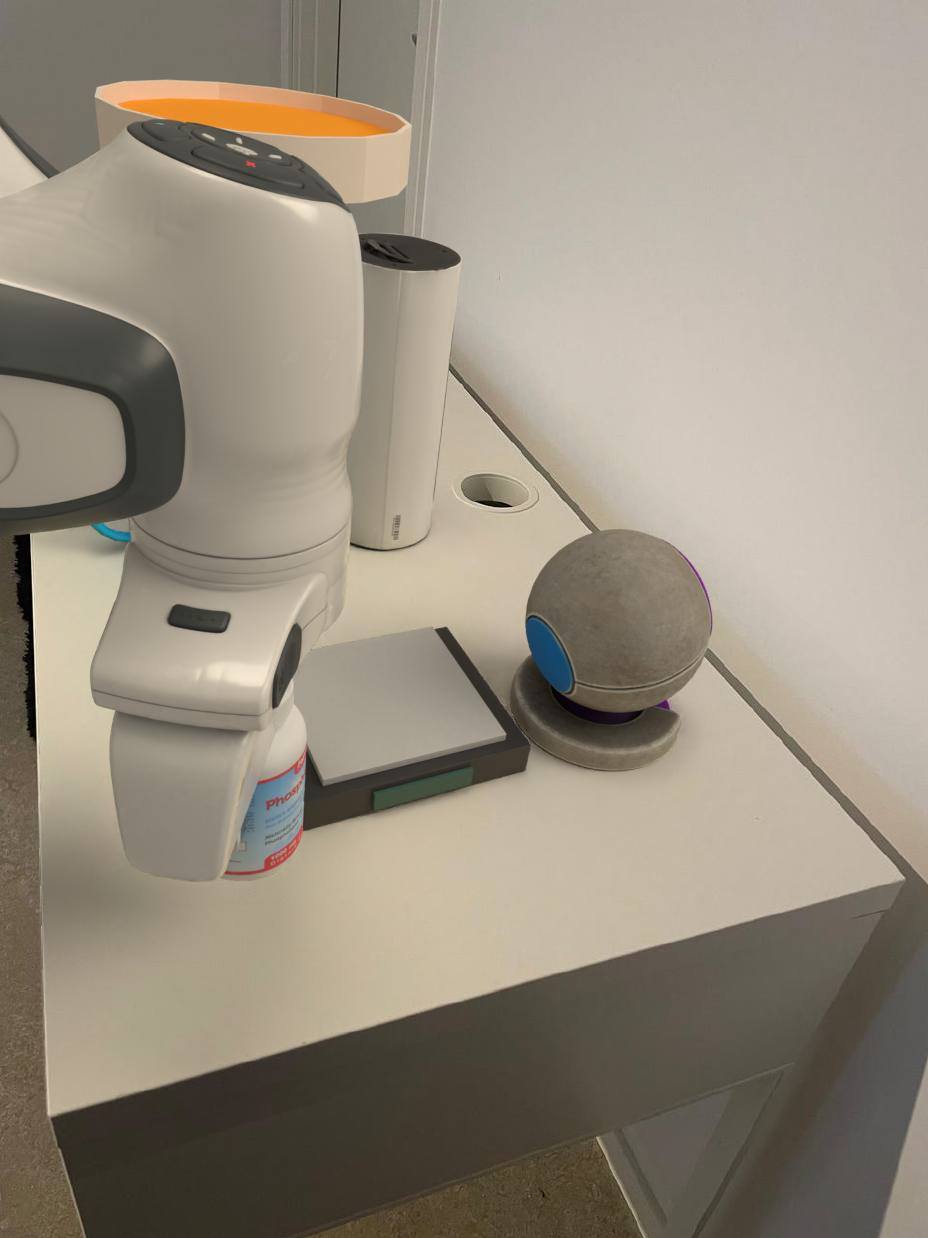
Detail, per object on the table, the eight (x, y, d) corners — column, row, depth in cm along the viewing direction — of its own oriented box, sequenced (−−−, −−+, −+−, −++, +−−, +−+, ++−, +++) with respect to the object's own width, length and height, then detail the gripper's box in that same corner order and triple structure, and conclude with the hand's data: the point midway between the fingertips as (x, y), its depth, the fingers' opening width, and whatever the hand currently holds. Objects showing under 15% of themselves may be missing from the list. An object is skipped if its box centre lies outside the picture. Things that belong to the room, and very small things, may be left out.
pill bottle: (292, 892, 46) (299, 733, 40) (172, 881, 46) (159, 718, 39) (310, 804, 51) (318, 649, 45) (201, 793, 51) (194, 635, 44)
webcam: (710, 742, 68) (774, 576, 59) (572, 793, 62) (620, 617, 53) (607, 642, 76) (649, 485, 67) (477, 678, 70) (505, 511, 62)
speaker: (442, 551, 85) (477, 265, 70) (331, 554, 82) (343, 258, 67) (418, 495, 93) (445, 229, 78) (317, 497, 90) (324, 221, 75)
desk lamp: (105, 371, 109) (69, 70, 90) (337, 356, 121) (347, 90, 103) (159, 486, 88) (126, 128, 70) (431, 454, 101) (464, 144, 83)
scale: (305, 835, 56) (306, 801, 54) (246, 690, 66) (245, 657, 64) (528, 774, 63) (535, 742, 61) (443, 650, 73) (447, 620, 71)
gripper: (238, 446, 47) (240, 654, 55) (65, 704, 30) (104, 949, 38) (359, 465, 47) (343, 671, 55) (253, 733, 30) (252, 972, 38)
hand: (244, 787), depth 46 cm, fingers closed on pill bottle, 6 cm apart
